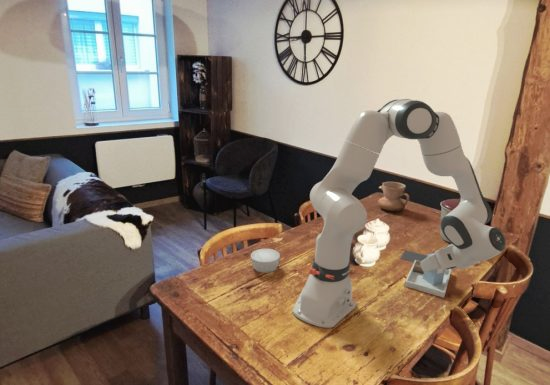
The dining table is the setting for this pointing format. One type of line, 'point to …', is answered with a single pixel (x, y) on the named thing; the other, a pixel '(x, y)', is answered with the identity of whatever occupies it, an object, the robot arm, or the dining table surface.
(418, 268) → the walnut block
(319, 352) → the dining table surface
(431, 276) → the blue box
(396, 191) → the ceramic jug
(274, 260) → the ramekin
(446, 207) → the canister
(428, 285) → the tray
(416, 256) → the mat
